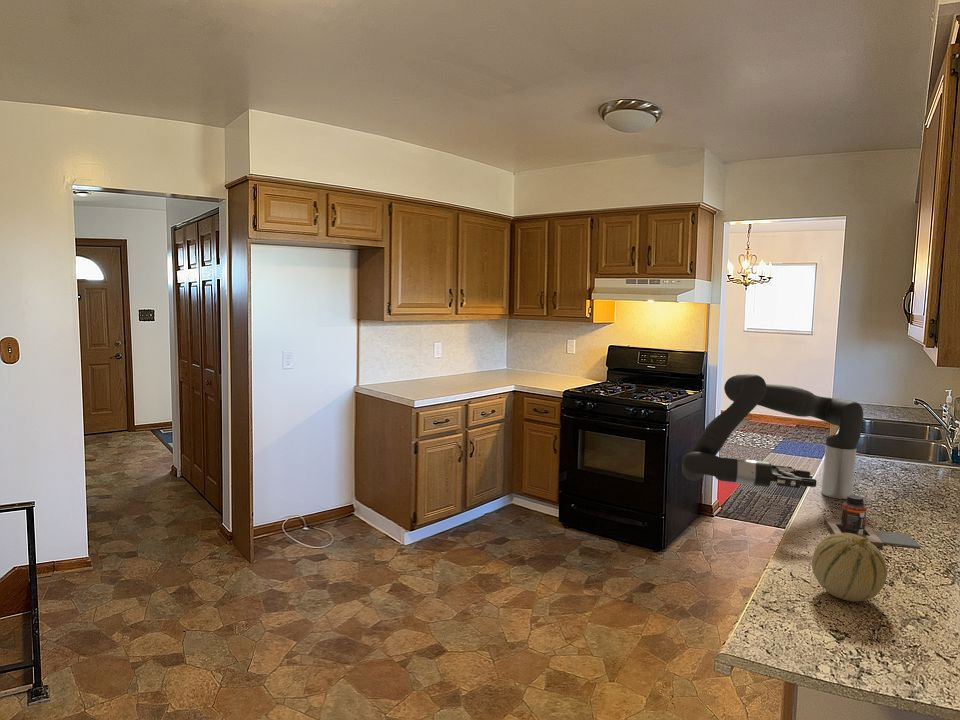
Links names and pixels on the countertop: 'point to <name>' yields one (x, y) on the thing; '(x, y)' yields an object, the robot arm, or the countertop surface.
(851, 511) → the supplement bottle
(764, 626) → the countertop surface
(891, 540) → the rubber mat
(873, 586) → the cantaloupe
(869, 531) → the walnut holder
